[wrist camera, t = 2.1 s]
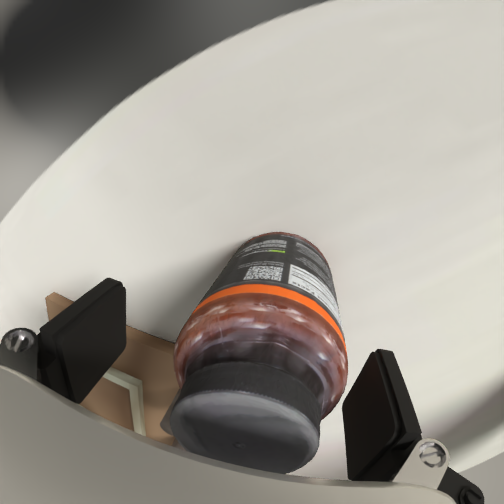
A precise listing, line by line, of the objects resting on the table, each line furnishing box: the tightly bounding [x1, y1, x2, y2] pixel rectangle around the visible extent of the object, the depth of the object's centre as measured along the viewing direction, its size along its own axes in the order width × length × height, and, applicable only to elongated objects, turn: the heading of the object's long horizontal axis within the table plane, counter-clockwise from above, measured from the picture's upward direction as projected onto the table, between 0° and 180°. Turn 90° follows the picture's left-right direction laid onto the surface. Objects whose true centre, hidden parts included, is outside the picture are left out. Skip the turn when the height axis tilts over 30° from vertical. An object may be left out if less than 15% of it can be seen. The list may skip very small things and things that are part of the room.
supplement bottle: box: [170, 232, 348, 474], centre depth 12 cm, size 6×6×11 cm
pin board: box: [45, 292, 186, 451], centre depth 20 cm, size 18×14×5 cm
